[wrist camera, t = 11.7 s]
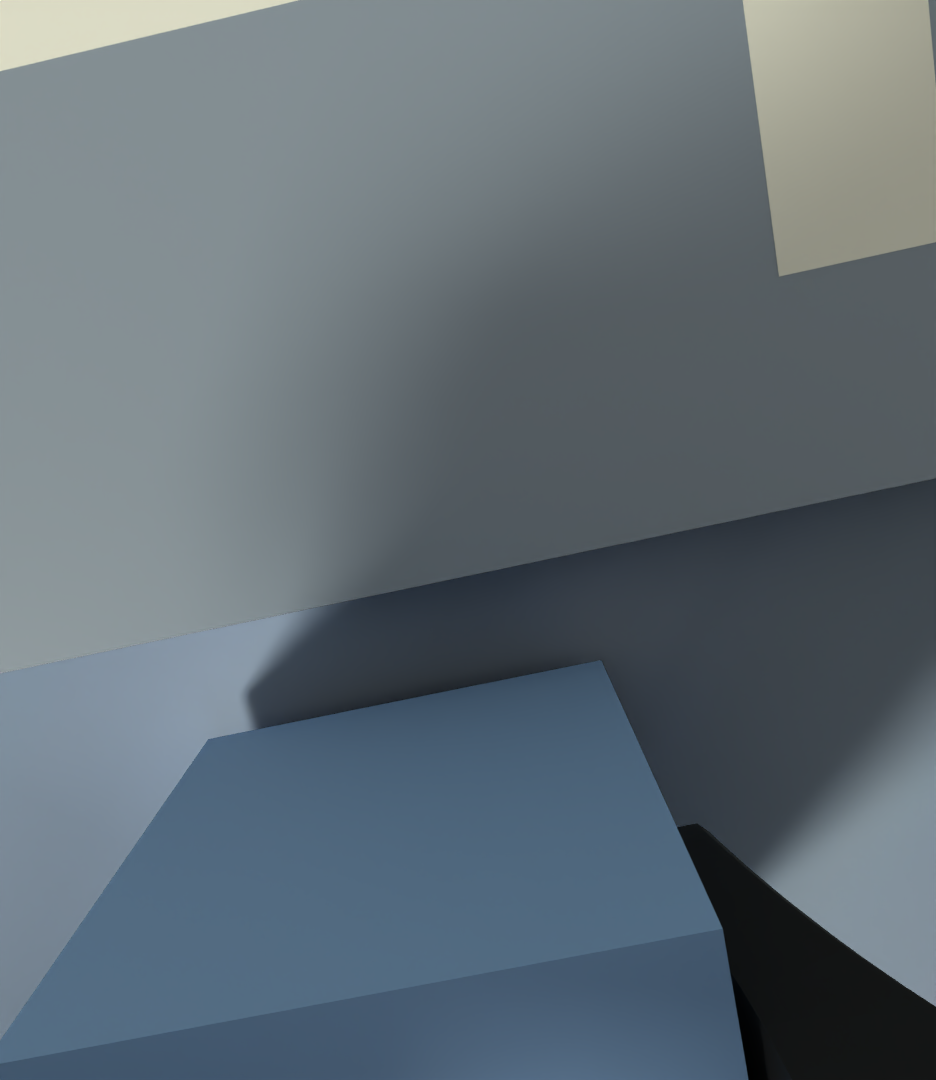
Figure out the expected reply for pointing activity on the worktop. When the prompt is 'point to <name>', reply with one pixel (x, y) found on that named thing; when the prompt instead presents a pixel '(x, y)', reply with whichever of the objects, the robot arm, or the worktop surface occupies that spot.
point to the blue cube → (402, 909)
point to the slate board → (441, 290)
